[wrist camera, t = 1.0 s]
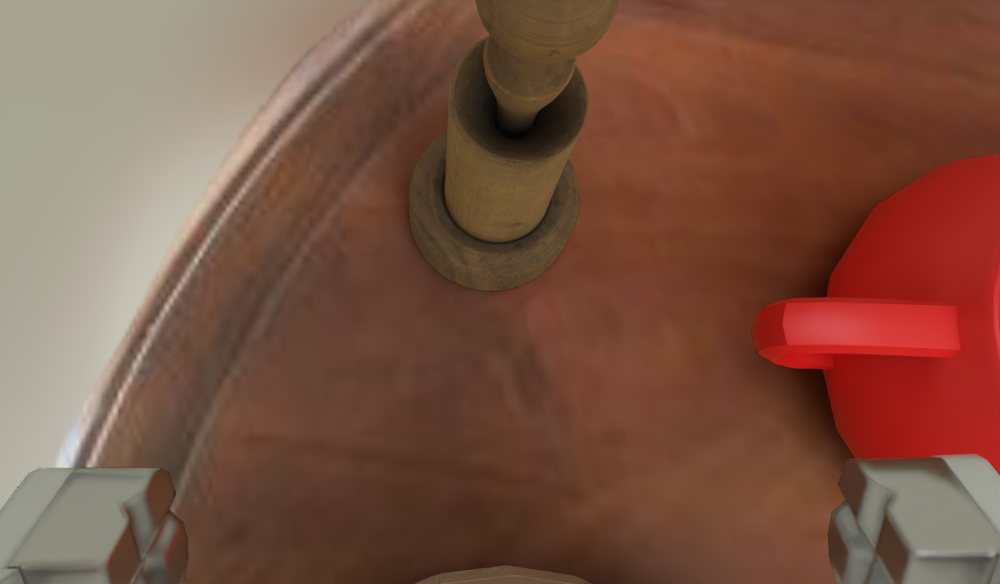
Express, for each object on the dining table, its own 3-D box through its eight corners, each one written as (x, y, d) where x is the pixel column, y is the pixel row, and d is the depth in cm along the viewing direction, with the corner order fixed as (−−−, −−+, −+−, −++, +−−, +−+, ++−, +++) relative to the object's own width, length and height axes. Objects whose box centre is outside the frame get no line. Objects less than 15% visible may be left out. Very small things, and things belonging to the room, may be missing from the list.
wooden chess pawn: (488, 105, 35) (550, -256, 17) (603, 210, 34) (789, -49, 17) (375, 215, 33) (315, -52, 16) (493, 326, 33) (567, 178, 15)
